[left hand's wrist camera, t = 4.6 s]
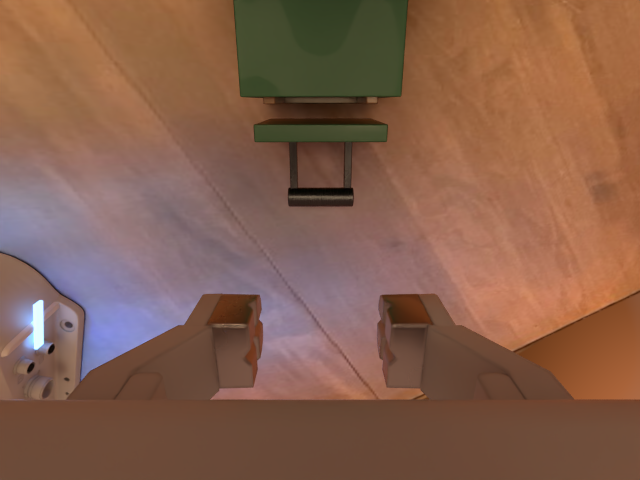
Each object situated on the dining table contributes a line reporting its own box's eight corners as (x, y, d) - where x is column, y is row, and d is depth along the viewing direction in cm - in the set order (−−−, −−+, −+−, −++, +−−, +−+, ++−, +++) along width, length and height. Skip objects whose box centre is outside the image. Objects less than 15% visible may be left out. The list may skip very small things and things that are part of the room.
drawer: (368, 192, 37) (382, 220, 28) (273, 192, 37) (259, 220, 28) (378, -31, 30) (400, -82, 22) (263, -30, 30) (240, -81, 22)
